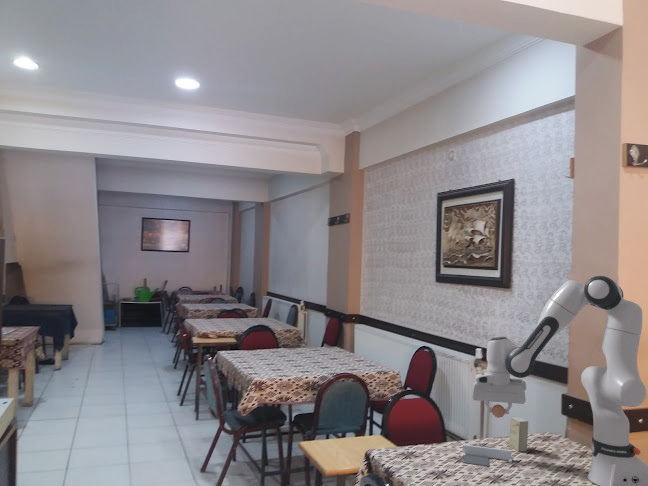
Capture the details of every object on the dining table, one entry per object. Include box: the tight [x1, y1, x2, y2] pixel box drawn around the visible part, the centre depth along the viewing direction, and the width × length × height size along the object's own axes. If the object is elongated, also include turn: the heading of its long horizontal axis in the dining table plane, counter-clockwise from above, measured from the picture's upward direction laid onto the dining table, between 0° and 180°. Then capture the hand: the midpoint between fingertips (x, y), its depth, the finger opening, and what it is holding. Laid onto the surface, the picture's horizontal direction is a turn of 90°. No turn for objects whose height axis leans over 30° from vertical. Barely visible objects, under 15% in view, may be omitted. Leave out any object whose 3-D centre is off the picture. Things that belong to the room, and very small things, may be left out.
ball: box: [491, 404, 506, 418], centre depth 205 cm, size 5×5×5 cm
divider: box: [462, 444, 513, 463], centre depth 200 cm, size 18×5×4 cm, turn 75°
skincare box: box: [508, 416, 529, 452], centre depth 211 cm, size 6×4×12 cm
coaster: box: [463, 454, 490, 467], centre depth 196 cm, size 9×9×1 cm
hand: (498, 413), depth 205 cm, fingers closed on ball, 5 cm apart
